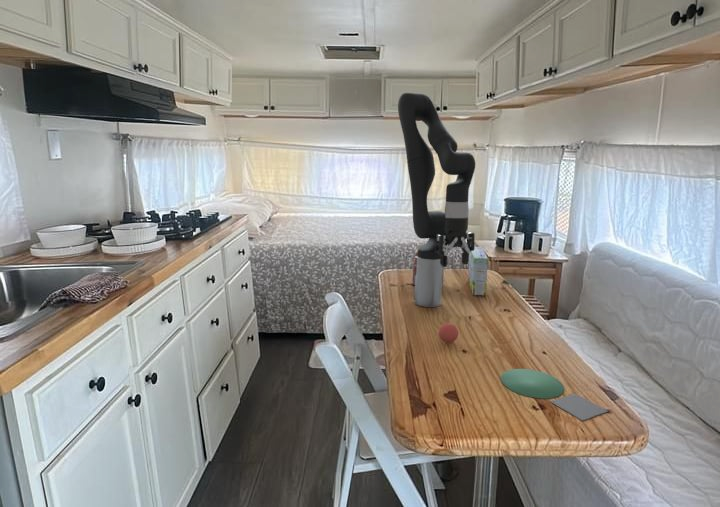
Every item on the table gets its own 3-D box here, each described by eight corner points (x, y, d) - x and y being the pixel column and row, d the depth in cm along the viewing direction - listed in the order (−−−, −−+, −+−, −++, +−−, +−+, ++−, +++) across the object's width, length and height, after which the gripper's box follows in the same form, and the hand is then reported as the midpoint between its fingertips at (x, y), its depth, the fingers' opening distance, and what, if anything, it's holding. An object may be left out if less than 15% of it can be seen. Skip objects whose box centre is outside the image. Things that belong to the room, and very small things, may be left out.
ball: (434, 340, 132) (435, 322, 131) (449, 336, 135) (450, 319, 134) (446, 347, 128) (447, 328, 126) (461, 343, 130) (463, 325, 129)
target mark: (488, 376, 111) (488, 375, 111) (530, 365, 117) (530, 364, 117) (533, 404, 99) (533, 403, 99) (577, 390, 105) (577, 389, 105)
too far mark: (550, 402, 100) (550, 401, 100) (575, 394, 104) (575, 393, 104) (582, 421, 93) (582, 420, 93) (607, 411, 97) (608, 410, 97)
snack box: (466, 280, 196) (469, 246, 192) (480, 281, 195) (482, 246, 192) (471, 295, 175) (474, 257, 172) (486, 296, 174) (489, 258, 171)
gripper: (466, 213, 153) (464, 261, 156) (431, 215, 147) (429, 265, 150) (481, 215, 147) (479, 265, 150) (445, 218, 140) (443, 269, 143)
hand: (454, 265), depth 150 cm, fingers open, 8 cm apart
